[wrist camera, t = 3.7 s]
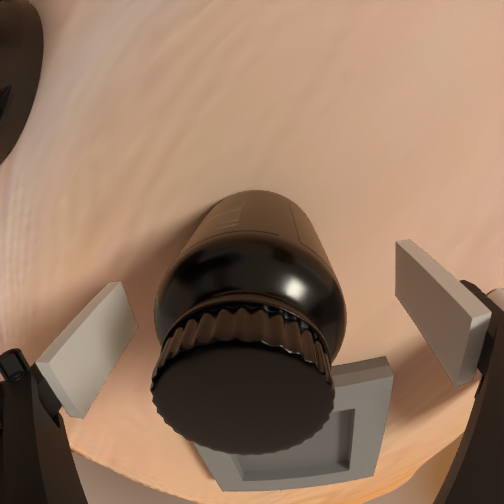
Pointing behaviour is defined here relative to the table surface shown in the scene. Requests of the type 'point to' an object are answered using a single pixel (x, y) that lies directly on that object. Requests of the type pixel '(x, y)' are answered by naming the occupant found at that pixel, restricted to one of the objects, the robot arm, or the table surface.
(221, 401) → the supplement bottle
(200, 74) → the table surface
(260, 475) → the base plate
